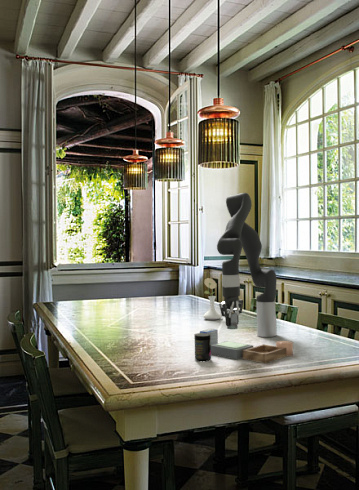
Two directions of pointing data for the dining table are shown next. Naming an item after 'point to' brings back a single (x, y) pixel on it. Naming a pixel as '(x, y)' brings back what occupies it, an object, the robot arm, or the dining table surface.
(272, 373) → the dining table surface
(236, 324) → the cell
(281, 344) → the peach dome knob
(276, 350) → the brown wooden tray
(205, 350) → the supplement container
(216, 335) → the medicine box
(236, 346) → the pale green panel
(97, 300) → the dining table surface
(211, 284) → the flower in vase
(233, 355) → the checker base
